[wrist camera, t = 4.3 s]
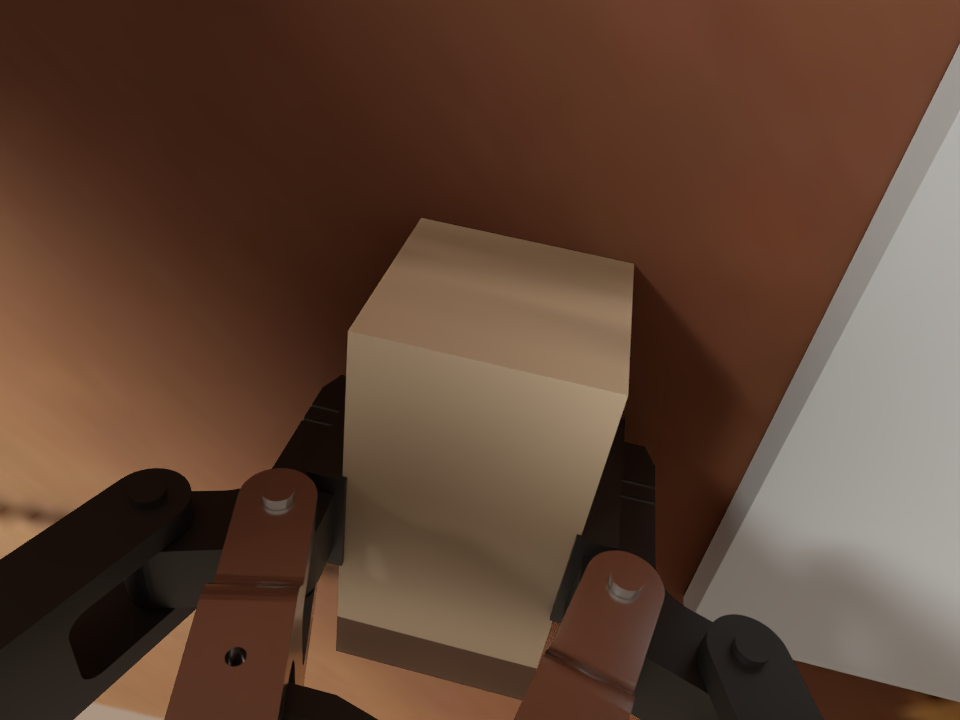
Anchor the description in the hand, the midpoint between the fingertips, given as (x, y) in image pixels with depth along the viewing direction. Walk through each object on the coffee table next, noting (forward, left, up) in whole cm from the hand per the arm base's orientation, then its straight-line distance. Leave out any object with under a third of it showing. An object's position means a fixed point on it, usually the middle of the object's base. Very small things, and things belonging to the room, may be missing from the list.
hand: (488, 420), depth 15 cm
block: (0, 0, -1) cm, 1 cm away
